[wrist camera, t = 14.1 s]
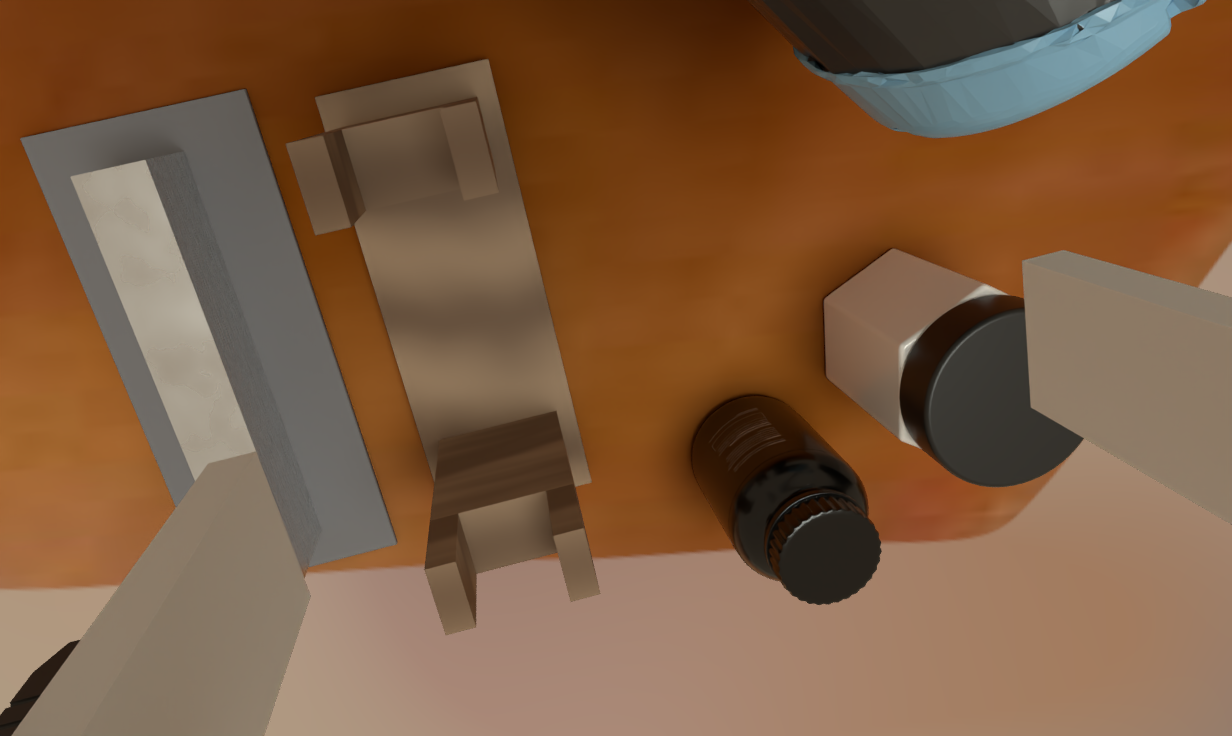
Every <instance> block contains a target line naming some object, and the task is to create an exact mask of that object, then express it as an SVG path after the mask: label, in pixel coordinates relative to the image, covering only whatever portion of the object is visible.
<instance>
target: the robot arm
mask: <svg viewBox="0 0 1232 736" xmlns="http://www.w3.org/2000/svg"><path fill="white" fill-rule="evenodd" d="M747 1H748V2H749V3H750V4H751V5H752V6H753V7H754V8H755V9H756V10H757V11H758V12H759V13H760V14H761V15H762V16H763V17H764V18H765V19H766V20H767V21H769V22H770V23H771V24H772V25H773V26H774V27H775V28H776V29H777V30H778V31H779V32H780V33H781V34H782V35H783V36H784V37H785V38H786V39H787V40H788V41H789V42H790V43H791V44H792V45H793V49H794V54H795V56H796V57H797V58H798V59H799V60H800V62H801V63H802V64H803V65H804V66H805V67H806V68H807V69H809V70H810V71H811V72H813V73H814V74H816V75H818V76H820V77H822V78H825V79H827V80H829V81H831V82H833V83H834V84H835V85H836V86H837V87H838V88H839V89H840V90H842V91H843V92H844V93H845V94H846V95H847V96H848V97H849V98H850V99H852V100H853V101H854V102H855V103H856V104H857V105H858V106H859V107H860V108H862V109H863V110H864V111H865V112H866V113H867V114H868V115H869V116H871V117H872V118H873V119H874V120H876V121H877V122H879V123H880V124H882V125H884V126H886V127H888V128H890V129H892V130H895V131H902V132H909V133H911V134H913V135H921V136H924V137H929V138H946V137H957V136H964V135H971V134H976V133H980V132H985V131H989V130H993V129H996V128H1000V127H1003V126H1006V125H1009V124H1012V123H1015V122H1018V121H1020V120H1023V119H1026V118H1028V117H1031V116H1033V115H1036V114H1038V113H1041V112H1043V111H1045V110H1047V109H1050V108H1052V107H1054V106H1056V105H1058V104H1060V103H1063V102H1065V101H1067V100H1069V99H1071V98H1073V97H1074V96H1076V95H1078V94H1080V93H1082V92H1084V91H1086V90H1087V89H1089V88H1091V87H1092V86H1094V85H1096V84H1098V83H1100V82H1101V81H1103V80H1105V79H1106V78H1108V77H1110V76H1111V75H1113V74H1115V73H1116V72H1118V71H1119V70H1121V69H1122V68H1124V67H1125V66H1127V65H1128V64H1130V63H1131V62H1133V61H1134V60H1135V59H1137V58H1138V57H1140V56H1141V55H1142V54H1144V53H1145V52H1146V51H1148V50H1149V49H1150V48H1152V47H1153V46H1154V45H1155V44H1157V43H1158V42H1159V41H1161V40H1162V39H1163V38H1164V37H1166V36H1167V35H1168V34H1169V32H1170V29H1171V20H1170V18H1172V17H1173V16H1175V15H1177V14H1179V13H1181V12H1183V11H1186V10H1189V9H1192V8H1194V7H1197V6H1199V5H1201V4H1203V3H1204V2H1205V1H1206V0H747ZM1022 268H1023V285H1024V302H1025V319H1026V335H1027V352H1028V369H1029V386H1030V403H1031V408H1033V409H1035V410H1036V411H1038V412H1040V413H1041V414H1043V415H1045V416H1047V417H1048V418H1050V419H1052V420H1053V421H1055V422H1057V423H1059V424H1060V425H1062V426H1064V427H1065V428H1067V429H1069V430H1071V431H1072V432H1074V433H1076V434H1077V435H1079V436H1081V437H1083V438H1084V439H1086V440H1088V441H1089V442H1091V443H1093V444H1095V445H1096V446H1098V447H1100V448H1101V449H1103V450H1105V451H1107V452H1108V453H1110V454H1112V455H1114V456H1115V457H1117V458H1118V459H1121V460H1122V461H1124V462H1125V463H1127V464H1129V465H1130V466H1132V467H1134V468H1136V469H1137V470H1139V471H1141V472H1142V473H1144V474H1146V475H1148V476H1149V477H1151V478H1153V479H1155V480H1156V481H1158V482H1160V483H1161V484H1163V485H1165V486H1166V487H1168V488H1170V489H1172V490H1173V491H1175V492H1177V493H1179V494H1180V495H1182V496H1184V497H1185V498H1187V499H1189V500H1190V501H1192V502H1194V503H1196V504H1197V505H1199V506H1201V507H1202V508H1204V509H1206V510H1208V511H1209V512H1211V513H1213V514H1214V515H1216V516H1218V517H1220V518H1221V519H1223V520H1225V521H1227V522H1228V523H1230V524H1232V297H1228V296H1225V295H1221V294H1218V293H1214V292H1211V291H1207V290H1203V289H1200V288H1196V287H1193V286H1189V285H1186V284H1182V283H1179V282H1175V281H1171V280H1168V279H1164V278H1161V277H1157V276H1154V275H1150V274H1147V273H1143V272H1139V271H1136V270H1132V269H1129V268H1125V267H1122V266H1118V265H1115V264H1111V263H1107V262H1104V261H1100V260H1097V259H1093V258H1090V257H1086V256H1083V255H1079V254H1075V253H1072V252H1068V251H1065V250H1063V251H1059V252H1055V253H1051V254H1047V255H1043V256H1039V257H1035V258H1031V259H1027V260H1023V261H1022ZM310 597H311V595H310V592H309V590H308V587H307V584H306V582H305V579H304V576H303V574H302V571H301V568H300V566H299V563H298V561H297V558H296V555H295V553H294V550H293V547H292V545H291V542H290V540H289V537H288V534H287V532H286V529H285V526H284V524H283V521H282V518H281V516H280V513H279V511H278V508H277V505H276V503H275V500H274V497H273V495H272V492H271V489H270V487H269V484H268V482H267V479H266V476H265V474H264V471H263V468H262V466H261V463H260V461H259V458H258V455H257V453H256V452H252V453H248V454H244V455H240V456H236V457H232V458H228V459H224V460H220V461H216V462H212V463H208V464H207V466H206V467H205V468H204V470H203V471H202V473H201V474H200V475H199V477H198V478H197V480H196V481H195V482H194V484H193V485H192V486H191V488H190V489H189V491H188V492H187V493H186V495H185V496H184V498H183V499H182V500H181V502H180V503H179V504H178V506H177V507H176V509H175V510H174V511H173V513H172V514H171V516H170V517H169V518H168V520H167V521H166V522H165V524H164V525H163V527H162V528H161V529H160V531H159V532H158V534H157V535H156V536H155V538H154V539H153V540H152V542H151V543H150V545H149V546H148V547H147V549H146V550H145V552H144V553H143V554H142V556H141V557H140V558H139V560H138V561H137V563H136V564H135V565H134V567H133V568H132V570H131V571H130V572H129V574H128V575H127V576H126V578H125V579H124V581H123V582H122V583H121V585H120V586H119V587H118V589H117V590H116V592H115V593H114V594H113V596H112V597H111V599H110V600H109V602H108V603H107V604H106V606H105V607H104V608H103V610H102V611H101V612H100V614H99V615H98V617H97V618H96V619H95V621H94V622H93V623H92V625H91V626H90V628H89V629H88V630H87V632H86V633H85V635H84V636H83V637H82V639H81V640H77V641H74V642H70V643H68V644H67V645H66V646H64V648H62V649H61V650H60V651H58V652H57V653H56V654H55V655H54V656H52V657H51V658H50V659H49V660H48V661H46V662H45V663H44V664H43V665H41V666H40V667H39V668H38V669H37V670H35V671H34V672H33V673H32V675H31V676H30V677H29V678H28V680H27V681H26V682H25V684H24V685H23V686H22V688H21V689H20V690H19V692H18V693H17V694H16V695H15V697H14V698H13V699H12V701H11V702H10V704H11V707H9V708H6V709H5V710H4V711H3V712H2V714H1V715H0V736H264V735H265V732H266V729H267V725H268V723H269V720H270V717H271V714H272V711H273V708H274V705H275V702H276V699H277V696H278V693H279V690H280V687H281V684H282V681H283V678H284V675H285V672H286V669H287V666H288V663H289V660H290V657H291V654H292V651H293V648H294V645H295V642H296V639H297V636H298V633H299V630H300V626H301V624H302V621H303V618H304V615H305V612H306V609H307V606H308V603H309V600H310Z"/></svg>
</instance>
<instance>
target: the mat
mask: <svg viewBox="0 0 1232 736" xmlns="http://www.w3.org/2000/svg"><path fill="white" fill-rule="evenodd" d="M20 139H21V141H22V144H23V146H24V148H25V151H26V153H27V156H28V158H29V160H30V163H31V165H32V167H33V170H34V172H35V175H36V177H37V179H38V182H39V184H40V186H41V189H42V191H43V193H44V196H45V198H46V201H47V203H48V205H49V208H50V210H51V212H52V215H53V217H54V220H55V222H56V224H57V227H58V229H59V231H60V234H61V236H62V238H63V241H64V243H65V246H66V248H67V250H68V253H69V255H70V257H71V260H72V262H73V264H74V267H75V269H76V272H77V274H78V276H79V279H80V281H81V283H82V286H83V288H84V291H85V293H86V295H87V298H88V300H89V302H90V305H91V307H92V309H93V312H94V314H95V317H96V319H97V321H98V324H99V326H100V328H101V331H102V333H103V336H104V338H105V340H106V343H107V345H108V347H109V350H110V352H111V354H112V357H113V359H114V362H115V364H116V366H117V369H118V371H119V373H120V376H121V378H122V381H123V383H124V385H125V388H126V390H127V392H128V395H129V397H130V399H131V402H132V404H133V407H134V409H135V411H136V414H137V416H138V418H139V421H140V423H141V425H142V428H143V430H144V433H145V435H146V437H147V440H148V442H149V444H150V447H151V449H152V452H153V454H154V456H155V459H156V461H157V463H158V466H159V468H160V470H161V473H162V475H163V478H164V480H165V482H166V485H167V487H168V489H169V492H170V494H171V497H172V499H173V501H174V504H175V506H176V507H177V506H178V504H179V503H180V502H181V500H182V499H183V498H184V496H185V495H186V493H187V492H188V491H189V489H190V488H191V486H192V485H193V484H194V482H195V480H194V477H193V475H192V473H191V470H190V468H189V465H188V463H187V460H186V458H185V456H184V453H183V451H182V448H181V446H180V443H179V441H178V438H177V436H176V434H175V431H174V429H173V426H172V424H171V421H170V419H169V416H168V414H167V412H166V409H165V407H164V404H163V402H162V399H161V397H160V395H159V392H158V390H157V387H156V385H155V382H154V380H153V377H152V375H151V373H150V370H149V368H148V365H147V363H146V360H145V358H144V356H143V353H142V351H141V348H140V346H139V343H138V341H137V338H136V336H135V334H134V331H133V329H132V326H131V324H130V321H129V319H128V316H127V314H126V312H125V309H124V307H123V304H122V302H121V299H120V297H119V295H118V292H117V290H116V287H115V285H114V282H113V280H112V277H111V275H110V273H109V270H108V268H107V265H106V263H105V260H104V258H103V255H102V253H101V251H100V248H99V246H98V243H97V241H96V238H95V236H94V234H93V231H92V229H91V226H90V224H89V221H88V219H87V216H86V214H85V212H84V209H83V207H82V204H81V202H80V199H79V197H78V194H77V192H76V190H75V187H74V185H73V182H72V180H71V176H75V175H80V174H84V173H88V172H93V171H97V170H102V169H106V168H111V167H115V166H120V165H124V164H129V163H133V162H138V161H142V160H147V159H151V158H156V157H160V156H165V155H169V154H174V153H179V152H183V151H184V152H185V154H186V157H187V160H188V163H189V165H190V168H191V171H192V174H193V176H194V179H195V182H196V184H197V187H198V190H199V193H200V195H201V198H202V201H203V204H204V206H205V209H206V212H207V215H208V217H209V220H210V223H211V226H212V228H213V231H214V234H215V237H216V239H217V242H218V245H219V248H220V250H221V253H222V256H223V259H224V261H225V264H226V267H227V270H228V272H229V275H230V278H231V281H232V283H233V286H234V289H235V292H236V294H237V297H238V300H239V303H240V305H241V308H242V311H243V314H244V316H245V319H246V322H247V325H248V327H249V330H250V333H251V336H252V338H253V341H254V344H255V346H256V349H257V352H258V355H259V357H260V360H261V363H262V366H263V368H264V371H265V374H266V377H267V379H268V382H269V385H270V388H271V390H272V393H273V396H274V399H275V401H276V404H277V407H278V410H279V412H280V415H281V418H282V421H283V423H284V426H285V429H286V432H287V434H288V437H289V440H290V443H291V445H292V448H293V451H294V454H295V456H296V459H297V462H298V465H299V467H300V470H301V473H302V476H303V478H304V481H305V484H306V487H307V489H308V492H309V495H310V497H311V500H312V503H313V506H314V508H315V511H316V514H317V517H318V519H319V522H320V525H321V528H322V530H321V533H320V536H319V539H318V542H317V544H316V547H315V550H314V553H313V555H312V558H311V561H310V564H309V567H311V566H315V565H319V564H322V563H326V562H330V561H334V560H338V559H342V558H345V557H349V556H353V555H357V554H361V553H365V552H369V551H372V550H376V549H380V548H384V547H388V546H392V545H396V544H397V539H396V536H395V533H394V530H393V527H392V524H391V521H390V518H389V515H388V512H387V509H386V506H385V503H384V500H383V497H382V494H381V491H380V488H379V485H378V482H377V479H376V476H375V473H374V470H373V467H372V464H371V461H370V458H369V455H368V452H367V449H366V446H365V443H364V440H363V437H362V434H361V431H360V428H359V425H358V422H357V419H356V416H355V413H354V410H353V407H352V404H351V401H350V398H349V395H348V392H347V389H346V386H345V383H344V380H343V377H342V374H341V371H340V368H339V365H338V362H337V359H336V356H335V353H334V350H333V347H332V344H331V341H330V338H329V335H328V332H327V329H326V326H325V323H324V320H323V317H322V314H321V311H320V308H319V305H318V302H317V299H316V296H315V293H314V290H313V287H312V284H311V281H310V278H309V275H308V272H307V269H306V266H305V263H304V260H303V257H302V254H301V251H300V248H299V245H298V242H297V239H296V236H295V233H294V230H293V227H292V224H291V221H290V218H289V215H288V212H287V209H286V206H285V203H284V200H283V197H282V194H281V191H280V188H279V185H278V182H277V179H276V176H275V173H274V170H273V167H272V164H271V161H270V158H269V155H268V152H267V149H266V146H265V143H264V140H263V137H262V134H261V131H260V128H259V125H258V123H257V120H256V117H255V114H254V111H253V108H252V105H251V102H250V99H249V96H248V93H247V90H246V89H243V90H238V91H234V92H229V93H224V94H220V95H215V96H211V97H206V98H202V99H197V100H193V101H188V102H183V103H179V104H174V105H170V106H165V107H161V108H156V109H152V110H147V111H143V112H138V113H133V114H129V115H124V116H120V117H115V118H111V119H106V120H102V121H97V122H92V123H88V124H83V125H79V126H74V127H70V128H65V129H61V130H56V131H51V132H47V133H42V134H38V135H33V136H29V137H24V138H20Z"/></svg>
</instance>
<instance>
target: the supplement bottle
mask: <svg viewBox="0 0 1232 736" xmlns="http://www.w3.org/2000/svg"><path fill="white" fill-rule="evenodd" d="M692 466H693V471H694V475H695V478H696V480H697V482H698V484H699V486H700V488H701V490H702V492H703V494H704V495H705V497H706V499H707V501H708V502H709V504H710V506H711V508H712V509H713V511H714V513H715V515H716V516H717V518H718V520H719V522H720V523H721V525H722V527H723V529H724V530H725V532H726V534H727V536H728V537H729V539H730V541H731V543H732V544H733V546H734V548H735V550H736V551H737V553H738V554H739V555H740V557H741V558H742V560H743V561H744V562H745V563H746V564H747V565H748V566H749V567H750V568H751V569H753V570H754V571H756V572H757V573H758V574H760V575H762V576H765V577H767V578H769V579H772V580H775V581H780V582H781V583H782V585H783V586H784V588H785V589H786V590H788V591H789V592H790V594H791V595H792V596H795V597H797V598H798V599H799V600H801V601H806V602H807V603H809V604H812V603H815V604H817V605H821V604H831V603H833V602H839V601H841V600H843V599H847V598H849V597H850V596H851V595H852V594H856V593H857V592H858V591H859V589H861V588H863V587H864V586H865V585H866V583H867V582H868V581H869V580H870V579H871V578H872V574H873V573H874V572H875V571H876V570H877V564H878V563H879V561H880V557H879V556H880V554H881V548H880V545H881V541H880V539H879V533H878V531H877V530H876V529H875V526H874V524H873V522H872V521H871V520H870V519H869V518H868V514H869V506H868V498H867V494H866V491H865V488H864V485H863V483H862V481H861V480H860V478H859V476H858V475H857V474H856V473H855V471H854V470H853V469H852V468H851V467H850V465H849V464H848V463H847V462H846V461H845V460H844V459H843V458H842V457H841V456H840V455H839V454H838V453H837V452H836V451H835V450H834V449H833V448H832V447H831V446H830V445H829V444H828V443H827V442H826V441H825V440H824V439H823V438H822V437H821V436H820V435H819V434H818V433H817V432H816V431H815V430H814V429H813V428H812V427H811V426H810V425H809V424H808V423H807V422H806V421H805V420H804V419H803V418H802V417H801V416H800V415H799V414H798V413H797V412H796V411H795V410H793V409H792V408H791V407H790V406H788V405H786V404H785V403H783V402H781V401H779V400H776V399H773V398H769V397H763V396H749V397H743V398H739V399H736V400H733V401H731V402H729V403H727V404H725V405H723V406H722V407H720V408H719V409H717V410H716V411H715V412H714V413H713V414H711V415H710V416H709V417H708V419H707V420H706V421H705V422H704V424H703V425H702V426H701V428H700V430H699V432H698V434H697V436H696V439H695V441H694V445H693V451H692Z"/></svg>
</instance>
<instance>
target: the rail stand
mask: <svg viewBox="0 0 1232 736" xmlns="http://www.w3.org/2000/svg"><path fill="white" fill-rule="evenodd" d="M315 100H316V103H317V106H318V109H319V113H320V116H321V119H322V122H323V126H324V129H325V132H324V133H321V134H317V135H314V136H311V137H307V138H304V139H301V140H297V141H294V142H290V143H287V144H286V147H287V150H288V153H289V156H290V159H291V162H292V165H293V168H294V171H295V175H296V178H297V181H298V184H299V187H300V190H301V193H302V196H303V199H304V202H305V205H306V208H307V211H308V214H309V217H310V221H311V224H312V227H313V230H314V233H315V235H319V234H323V233H328V232H332V231H336V230H340V229H345V228H349V227H352V226H353V225H355V229H356V232H357V235H358V238H359V242H360V245H361V248H362V251H363V255H364V258H365V261H366V264H367V267H368V271H369V274H370V277H371V280H372V284H373V287H374V290H375V293H376V296H377V300H378V303H379V306H380V309H381V313H382V316H383V319H384V322H385V325H386V329H387V332H388V335H389V338H390V342H391V345H392V348H393V351H394V354H395V358H396V361H397V364H398V367H399V371H400V374H401V377H402V380H403V383H404V387H405V390H406V393H407V396H408V400H409V403H410V406H411V409H412V412H413V416H414V419H415V422H416V425H417V429H418V432H419V435H420V438H421V441H422V445H423V448H424V451H425V454H426V458H427V461H428V464H429V467H430V470H431V474H432V477H433V480H434V492H433V501H432V509H431V518H430V526H429V535H428V544H427V552H426V561H425V569H424V570H425V573H426V576H427V579H428V582H429V585H430V588H431V591H432V594H433V597H434V601H435V603H436V607H437V610H438V613H439V616H440V619H441V622H442V624H443V628H444V631H445V634H446V635H449V634H452V633H456V632H460V631H464V630H467V629H471V628H475V627H476V574H478V573H482V572H485V571H489V570H493V569H496V568H501V567H504V566H508V565H512V564H516V563H520V562H523V561H527V560H531V559H535V558H539V557H542V556H546V555H550V554H554V553H558V556H559V560H560V563H561V567H562V571H563V575H564V578H565V582H566V586H567V590H568V593H569V597H570V601H571V602H572V601H575V600H579V599H583V598H587V597H590V596H594V595H598V594H600V590H599V586H598V582H597V578H596V573H595V569H594V565H593V560H592V556H591V552H590V548H589V543H588V539H587V535H586V531H585V526H584V522H583V518H582V514H581V510H580V505H579V501H578V497H577V493H576V488H575V487H576V486H579V485H583V484H587V483H591V482H592V481H591V477H590V473H589V469H588V465H587V461H586V457H585V453H584V449H583V445H582V441H581V436H580V432H579V428H578V424H577V420H576V416H575V412H574V408H573V404H572V400H571V396H570V391H569V387H568V383H567V379H566V375H565V371H564V367H563V363H562V359H561V355H560V351H559V346H558V342H557V338H556V334H555V330H554V326H553V322H552V318H551V314H550V310H549V306H548V302H547V297H546V293H545V289H544V285H543V281H542V277H541V273H540V269H539V265H538V261H537V257H536V252H535V248H534V244H533V240H532V236H531V232H530V228H529V224H528V220H527V216H526V212H525V207H524V203H523V199H522V195H521V191H520V187H519V183H518V179H517V175H516V171H515V167H514V162H513V158H512V154H511V150H510V146H509V142H508V138H507V134H506V130H505V126H504V122H503V117H502V113H501V109H500V105H499V101H498V97H497V93H496V89H495V85H494V81H493V77H492V72H491V68H490V64H489V60H488V59H485V60H481V61H476V62H472V63H467V64H463V65H458V66H454V67H449V68H444V69H440V70H435V71H431V72H426V73H422V74H417V75H413V76H408V77H404V78H399V79H395V80H390V81H386V82H381V83H377V84H372V85H368V86H363V87H359V88H354V89H350V90H345V91H341V92H336V93H332V94H327V95H323V96H318V97H315Z"/></svg>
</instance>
